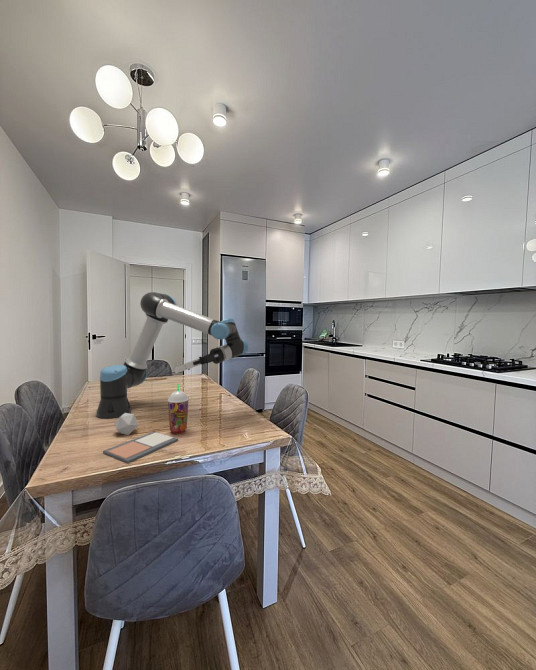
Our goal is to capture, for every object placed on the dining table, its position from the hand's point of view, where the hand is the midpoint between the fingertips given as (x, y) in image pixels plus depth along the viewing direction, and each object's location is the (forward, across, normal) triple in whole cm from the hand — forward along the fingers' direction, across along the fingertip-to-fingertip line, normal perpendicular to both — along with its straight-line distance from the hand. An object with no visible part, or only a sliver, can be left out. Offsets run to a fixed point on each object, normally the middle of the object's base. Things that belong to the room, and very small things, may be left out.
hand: (179, 368), depth 125 cm
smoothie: (+10, 0, -25) cm, 27 cm away
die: (+26, +11, -18) cm, 33 cm away
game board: (+25, -6, -22) cm, 34 cm away
